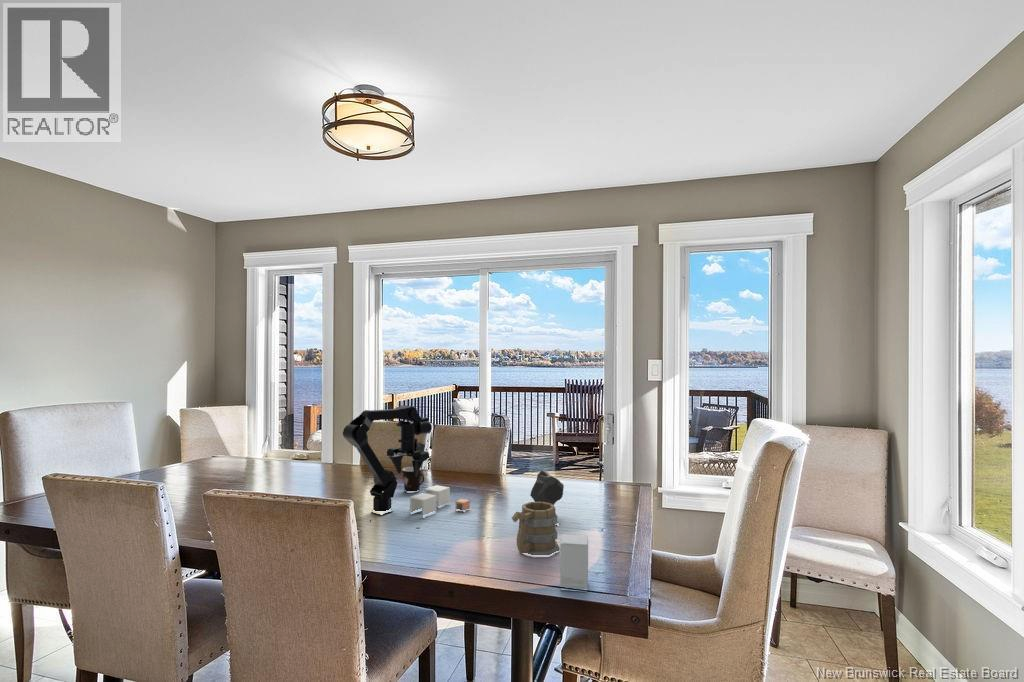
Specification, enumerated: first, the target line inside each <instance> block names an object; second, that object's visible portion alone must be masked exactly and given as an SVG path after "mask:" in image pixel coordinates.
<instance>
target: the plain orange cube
mask: <svg viewBox="0 0 1024 682" xmlns="http://www.w3.org/2000/svg"><path fill="white" fill-rule="evenodd" d="M470 503H471V500H470V499H465V498H460V499H458V500H455V510H456V509H460V510H466V509H469V508H471V504H470Z"/></svg>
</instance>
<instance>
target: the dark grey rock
mask: <svg viewBox="0 0 1024 682" xmlns="http://www.w3.org/2000/svg"><path fill="white" fill-rule="evenodd" d="M536 477H537V478H536V480H535V483H534V484H533V486H532V488H531V491H530V495H529V496H530V497H531V498H532V499H533V502H546V503H550V504H553V505H554V506H555V504H556V503H557V502H558V501H560V500H561V499H562V498H563V495H564V487H565V485H564V484H563V482H561V481H560V479H558V477H557V478H556V477H555V476H553V475H551V474H549V472H548V471H547V470H545V469H542V470H540V471H539V473H538V474H537V476H536ZM557 523H560V522H559V521H558V520H557ZM557 523H556V524H557Z"/></svg>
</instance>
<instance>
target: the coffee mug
mask: <svg viewBox="0 0 1024 682" xmlns="http://www.w3.org/2000/svg"><path fill="white" fill-rule="evenodd" d="M422 471H423V469H422V467H420V470H419V473H418V475H417V476H416V477H415V475H414V470H413V466H407V467H403V468H401V472H402V479H403V487H404V491H405V490H406V491H417V490H419V491H420V487H421V485H422V484H423V483H424V482H425V476H424V475H423V473H422ZM421 479H422V481H421Z"/></svg>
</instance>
